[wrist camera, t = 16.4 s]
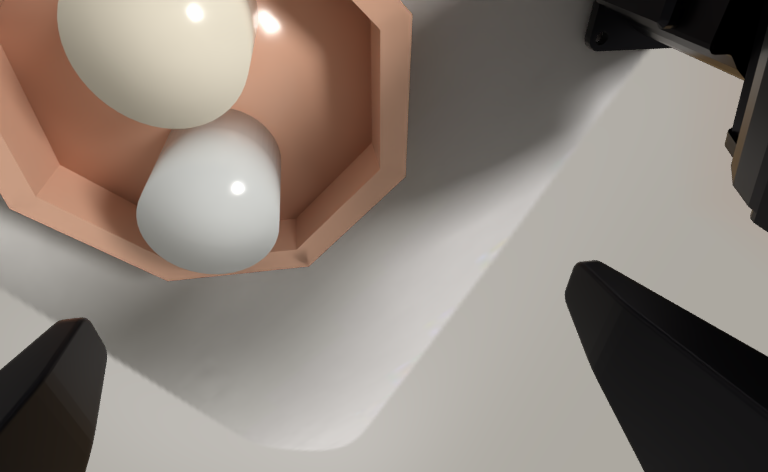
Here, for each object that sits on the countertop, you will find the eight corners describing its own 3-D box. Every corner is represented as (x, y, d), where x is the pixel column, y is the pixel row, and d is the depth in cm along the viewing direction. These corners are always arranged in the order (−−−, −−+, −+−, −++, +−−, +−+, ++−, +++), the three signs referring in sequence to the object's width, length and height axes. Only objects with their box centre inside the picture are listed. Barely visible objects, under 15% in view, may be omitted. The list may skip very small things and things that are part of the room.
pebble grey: (272, 103, 17) (268, 159, 14) (288, 200, 20) (287, 267, 17) (150, 110, 17) (114, 171, 13) (183, 209, 20) (160, 280, 16)
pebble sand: (243, -77, 14) (227, -60, 10) (269, 70, 17) (263, 121, 13) (88, -71, 13) (19, -51, 10) (141, 80, 16) (101, 135, 13)
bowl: (397, -157, 14) (420, -162, 12) (390, 217, 23) (402, 256, 20) (-127, -165, 12) (-225, -175, 10) (86, 245, 21) (60, 292, 18)
